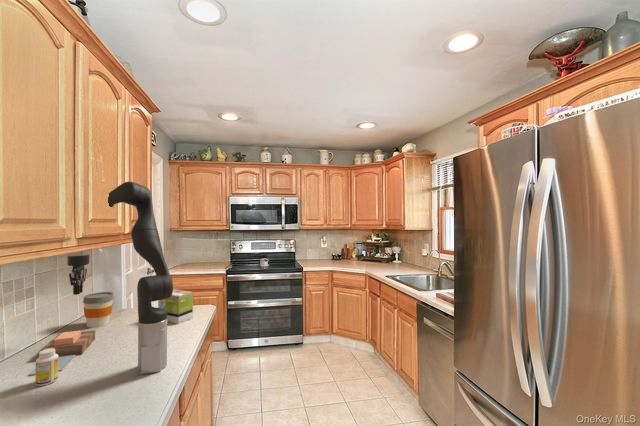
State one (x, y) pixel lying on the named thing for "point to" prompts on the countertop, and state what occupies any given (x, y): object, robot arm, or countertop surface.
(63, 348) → the block
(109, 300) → the reusable coffee cup
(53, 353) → the supplement bottle
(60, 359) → the mat
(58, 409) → the countertop surface
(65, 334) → the salmon foam block
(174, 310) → the tea box
